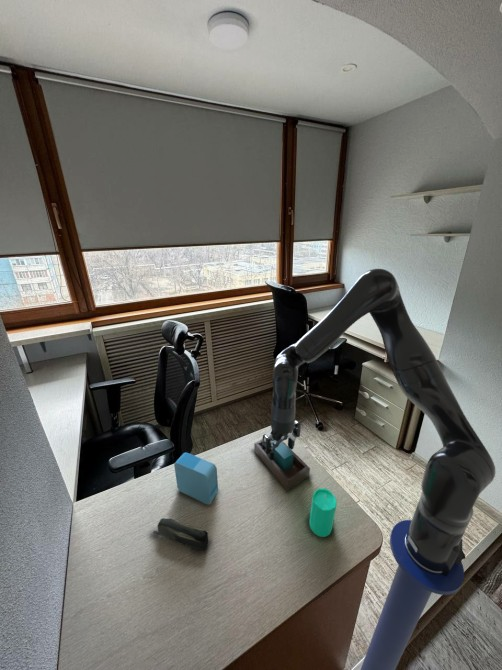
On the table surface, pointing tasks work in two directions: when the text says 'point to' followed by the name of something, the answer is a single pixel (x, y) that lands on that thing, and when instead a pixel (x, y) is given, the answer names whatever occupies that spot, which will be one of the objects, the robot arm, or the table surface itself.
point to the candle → (322, 512)
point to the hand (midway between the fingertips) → (280, 453)
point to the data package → (196, 477)
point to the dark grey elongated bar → (182, 533)
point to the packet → (283, 457)
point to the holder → (288, 477)
